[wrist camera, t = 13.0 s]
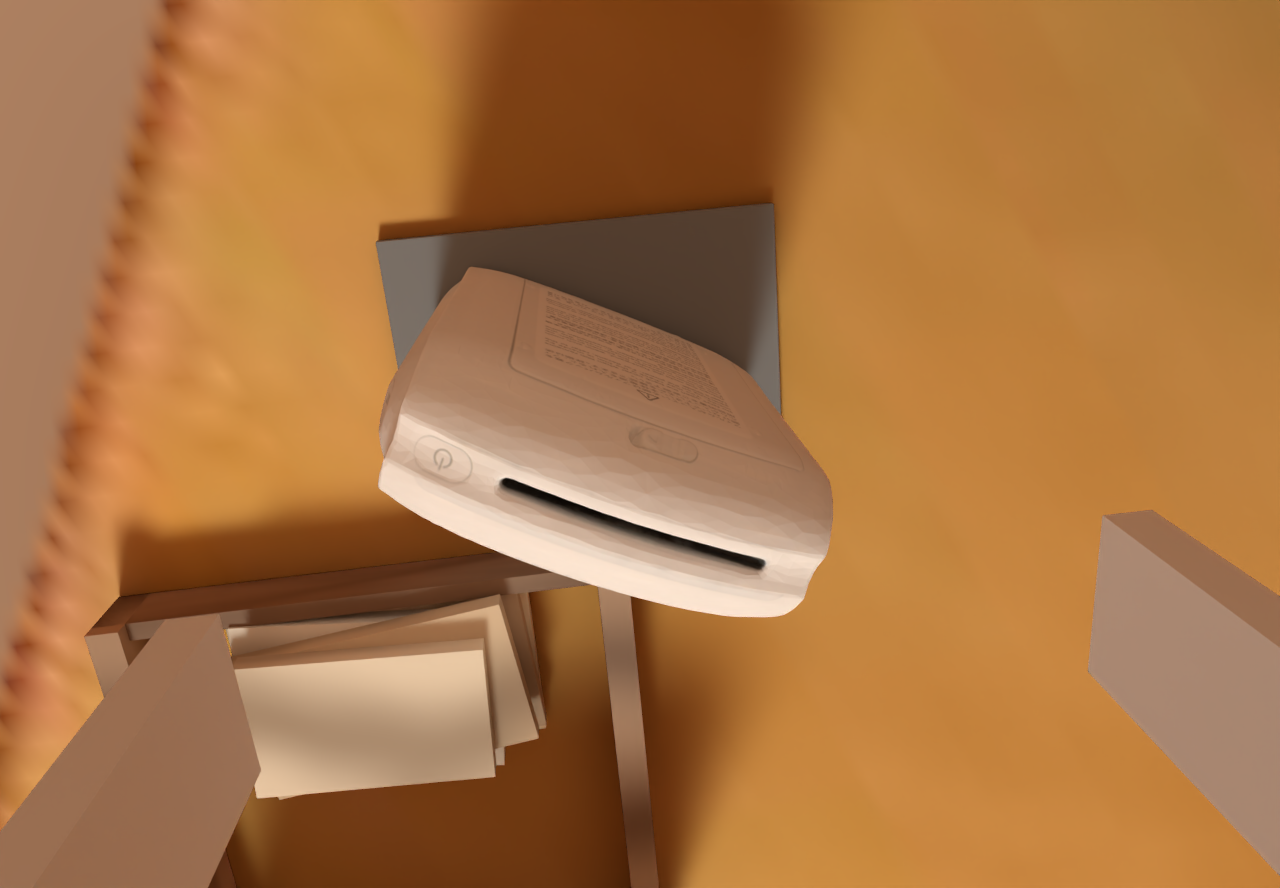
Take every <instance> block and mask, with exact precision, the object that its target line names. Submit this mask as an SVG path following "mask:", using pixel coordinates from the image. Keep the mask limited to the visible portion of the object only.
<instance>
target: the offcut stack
mask: <svg viewBox="0 0 1280 888" xmlns="http://www.w3.org/2000/svg"><path fill="white" fill-rule="evenodd" d="M226 632H227V635H228V639H229V643H230V646H231V651H232V657H231V660H232V664H233V668H234V671H235V675H236V679H237V682H238V686H239V690H240V694H241V697H242V701H243V705H244V708H245V712H246V716H247V719H248V723H249V727H250V730H251V734H252V738H253V742H254V745H255V749H256V753H257V756H258V760H259V764H260V767H261V772H260V774H259V776H258V779H257V781H256V783H255V785H254V786H255V791H256V796H257V799H258V798H269V797H278V798H279V800H282V799H286V798H290V797H294V796H299V795H303V794H313V793H324V792H335V791H346V790H357V789H368V788H379V787H390V786H401V785H412V784H423V783H434V782H445V781H456V780H467V779H478V778H489V777H495V775H496V765H505V746H509V745H513V744H518V743H522V742H526V741H530V740H534V739H539V729H543V728H546V709H545V705H544V698H543V691H542V684H541V677H540V670H539V662H538V655H537V648H536V641H535V634H534V627H533V619H532V612H531V605H530V598H529V592H527V593H519V594H510V595H502V596H500V594H498V595H493V596H489V597H485V598H477V599H469V600H461V601H453V602H445V603H436V604H428V605H420V606H412V607H403V608H395V609H387V610H379V611H371V612H362V613H354V614H346V615H338V616H329V617H321V618H313V619H305V620H297V621H288V622H280V623H272V624H264V625H255V626H243V627H229V628H228V629H226Z"/></svg>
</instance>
